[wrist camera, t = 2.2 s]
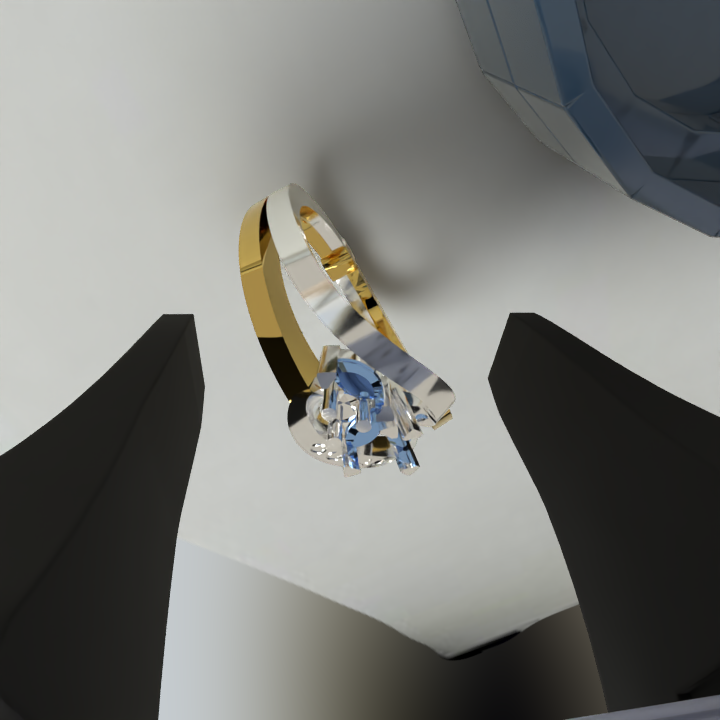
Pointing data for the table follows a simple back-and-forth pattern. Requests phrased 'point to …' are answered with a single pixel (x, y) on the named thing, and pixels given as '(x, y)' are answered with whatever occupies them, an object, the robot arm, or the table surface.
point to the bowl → (615, 91)
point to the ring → (336, 366)
